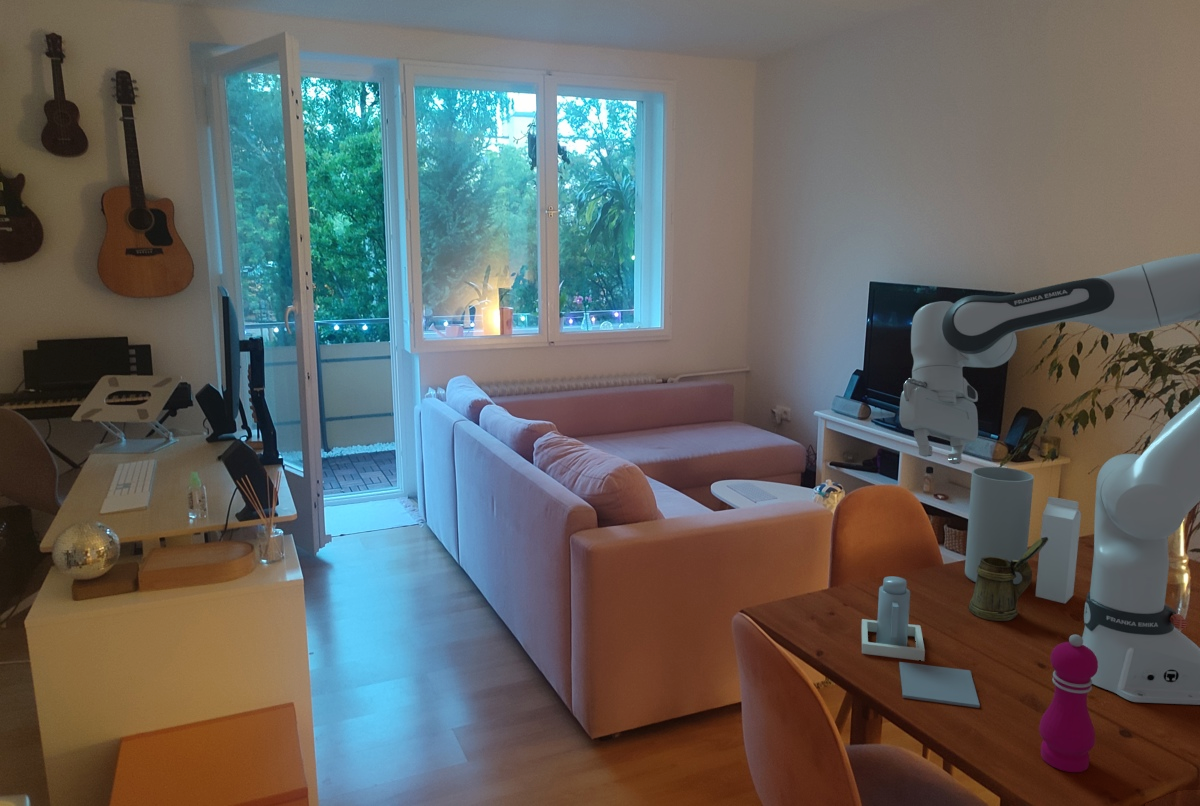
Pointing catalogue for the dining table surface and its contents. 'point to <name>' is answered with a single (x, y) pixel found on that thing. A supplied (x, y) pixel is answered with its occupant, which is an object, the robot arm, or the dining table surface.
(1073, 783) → the dining table surface
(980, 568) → the wooden mug
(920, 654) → the holder
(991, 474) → the cylinder vase
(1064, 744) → the pepper mill
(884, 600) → the blue capped bottle
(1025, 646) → the dining table surface
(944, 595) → the dining table surface
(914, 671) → the mat
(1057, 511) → the milk
